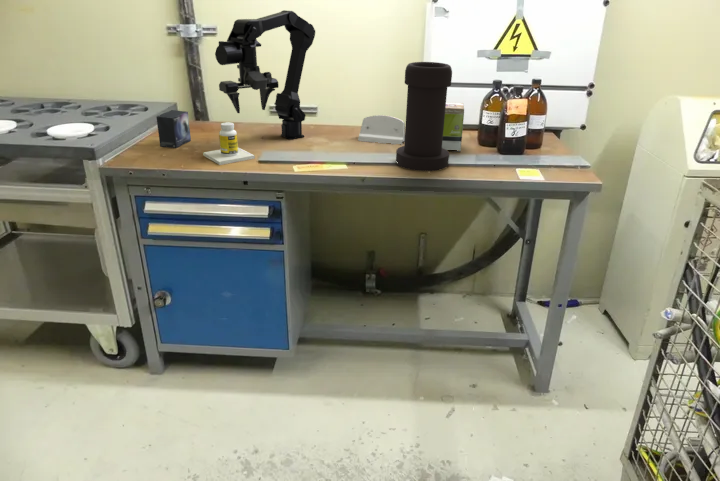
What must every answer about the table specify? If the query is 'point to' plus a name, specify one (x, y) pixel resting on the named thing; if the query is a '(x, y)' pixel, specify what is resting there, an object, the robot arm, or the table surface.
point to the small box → (173, 129)
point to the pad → (221, 159)
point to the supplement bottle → (228, 139)
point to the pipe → (425, 117)
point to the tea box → (453, 126)
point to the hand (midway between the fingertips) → (251, 111)
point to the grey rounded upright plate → (382, 130)
